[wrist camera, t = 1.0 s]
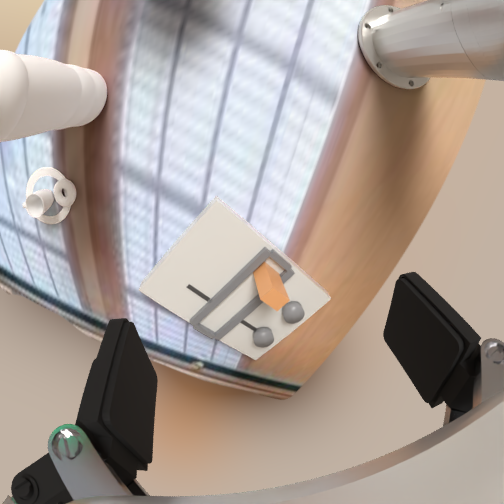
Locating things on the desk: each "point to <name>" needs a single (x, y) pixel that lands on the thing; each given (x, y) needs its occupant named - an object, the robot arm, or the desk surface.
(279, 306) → the block
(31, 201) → the white ring with post
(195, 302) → the console
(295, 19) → the desk surface
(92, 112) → the water bottle
